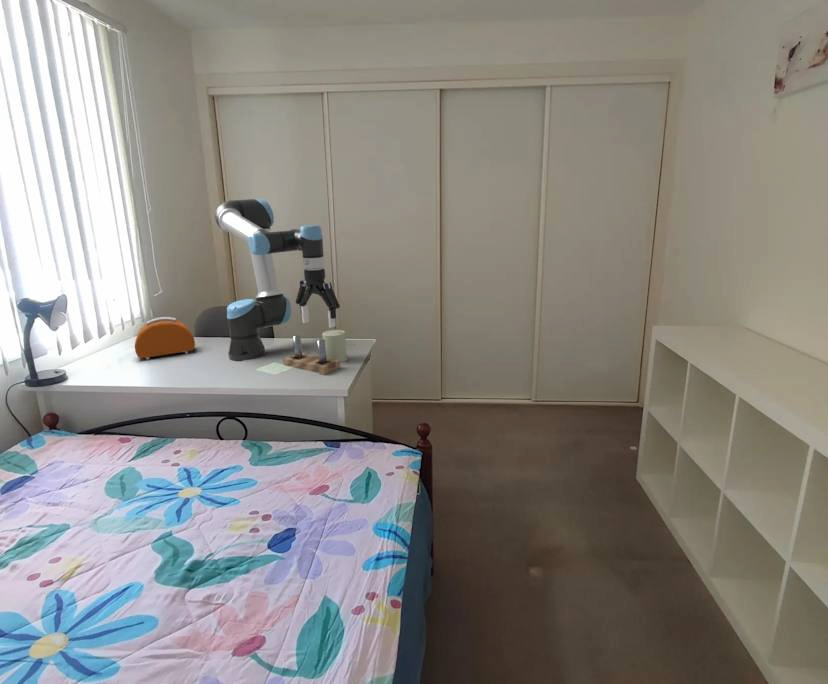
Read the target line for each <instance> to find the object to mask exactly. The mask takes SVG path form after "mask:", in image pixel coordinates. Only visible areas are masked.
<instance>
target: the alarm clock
mask: <svg viewBox="0 0 828 684" xmlns="http://www.w3.org/2000/svg"><path fill="white" fill-rule="evenodd" d="M194 337H195V336H194V334H193V332H192V330H190V328H189V327H188V326H187V325H186V324H185V323H184V322H181V321H179V320H177V318H176V317H171V316H160V317H155V318H153V319H152V318H151V319H149V320H148V321H146V324H145V325H144V326H142V327H141V328H140V330H139V331H138V333H137V336H136V338H135V341H134V350H135V354H136V356H137V357H138V358H140V359H146V360H147V361H150V358H152V357H158V356H165V355H173V354H178V353H185V355H187V354H189V352H190V351H191V352H193V350H194V349H195V348H196V342H195V338H194Z"/></svg>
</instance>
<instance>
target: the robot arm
mask: <svg viewBox="0 0 828 684" xmlns="http://www.w3.org/2000/svg"><path fill="white" fill-rule="evenodd" d="M214 219H215V222H216V225H217V226H218V227H219V228H220V229H221V230H222V231H224V232H227V233H232V234H233V235H235V236H236V237H238V238H239V239H242V241H244V242H245V243H247V244H248V248H249V252H250V256H251V261H252V268H253V271H254V277H255V281H256V288H257V292H258V293H257V295H256V296H255V300H256V301H255V300H254V299H252V298H246V299H241V300H237V301H234V302H231V303H230V304H229V305H227V307H226V318H227V323H228V330H229V336H230V341H229V342H230V343H229V347H228V352H227V353H228V359H230V360H231V361H238V362H239V361H240V362H241V361H249V360H252V359H253V360H254V359H257V358H261V357H263V356H264V355H266V347H265V345H264V343H263V341H262V339H261V337H260V332H259V331H260V329H265V328H270V327H274V326H280V325H283V324H286V323H288V322H289V321H290V318H291V316H292V306H291V302H290V300H289V298H288V297H286V296H284V292H283V291H281V290H280V289H279V284H278V280H277V274H276V270H275V264H274V259H273V254H276V253H277V254H278V253H285V252H295V251H297V252H298V251H300V252H301V254H302V264H303V268H304V270H303V276H304V279H303V280H302V279H301V280H300V281H299V288H298V292H297V295H296V299H295V303H296V304H298V305H299V307H300V313H301V318H302V323H303V324H306V323H309V322H310V315H309V314H310V313H309V305H308V301H309V300H310V298H311V297H312V294H313V295H314V294H315V295H318V296H319V297H321V299H322V300H323V302H324V303H325V305H326V306H327V308H328V310H327V317H328V328H330V329H331V328H334V327H336V318H337V313H336V310H337V309H340V308H341V305H340V304H339V301H338V299H337V297H336V294H335V292H334V289H333V285H332V282H331V281H330V282H325V279H326V269H325V258H324V257H325V256H324V245H323V244H324V243H323V241H324V240H323V234H322V227H321V226H320V225H319V224H311V225H310V224H309V225H308V224H307V225H302V226H300V228H299V229H297V228H294V229H288V230H280V231H271V227H272V226H273V225H274V222H275V221H274V219H275V216H274V211H273V209H272V206H271V205H270V204H269V203H268V202H267V200H265V199H260V198H258V199H256V198H251V199H235V200H234V199H233V200H227V201H224V202H222V203H220V205H219V206H217V208H216V210H215V212H214Z"/></svg>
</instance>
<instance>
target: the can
mask: <svg viewBox="0 0 828 684" xmlns="http://www.w3.org/2000/svg"><path fill="white" fill-rule="evenodd" d="M321 334H322V335H321V336H322V339H325V347H326V358H329V359H334V360H339V361H340V363H341V362H346V361H347V360H348V357H347V356H348V355H347V346H346V345H347V344H346V332H345V330H343V329H331V330H330V329H329V330H326V331H323V332H322V333H321Z"/></svg>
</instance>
